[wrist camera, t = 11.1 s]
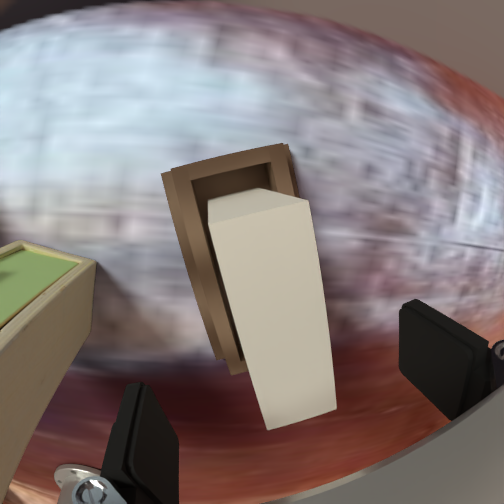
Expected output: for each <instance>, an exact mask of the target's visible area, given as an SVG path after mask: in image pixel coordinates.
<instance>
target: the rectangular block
mask: <svg viewBox="0 0 504 504" xmlns="http://www.w3.org/2000/svg"><path fill="white" fill-rule="evenodd" d="M208 225H209V229H210V233H211V237H212V241H213V245H214V249H215V252H216V256H217V260H218V264H219V267H220V271H221V275H222V279H223V282H224V286H225V290H226V293H227V297H228V300H229V304H230V308H231V311H232V315H233V318H234V322H235V325H236V329H237V332H238V336H239V339H240V343H241V346H242V349H243V353H244V356H245V360H246V363H247V366H248V370H249V373H250V376H251V379H252V383H253V386H254V389H255V393H256V396H257V399H258V402H259V405H260V409H261V412H262V415H263V418H264V421H265V424H266V427H267V430H271V429H274V428H278V427H282V426H285V425H289V424H292V423H296V422H299V421H302V420H305V419H308V418H312V417H315V416H318V415H321V414H324V413H327V412H329V411H332V410H335V409H337V406H336V394H335V383H334V373H333V363H332V354H331V345H330V336H329V328H328V320H327V313H326V305H325V298H324V291H323V284H322V277H321V271H320V264H319V258H318V252H317V246H316V240H315V234H314V229H313V223H312V218H311V212H310V207H309V201H308V200H304V199H301V198H297V197H293V196H289V195H285V194H281V193H277V192H273V191H269V190H265V189H261V188H253V189H249V190H245V191H241V192H236V193H232V194H228V195H224V196H220V197H216V198H212V199H208Z"/></svg>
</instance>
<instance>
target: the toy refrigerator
mask: <svg viewBox="0 0 504 504" xmlns="http://www.w3.org/2000/svg"><path fill="white" fill-rule="evenodd" d="M96 264H97V263H96V261H94V260H91V259H88V258H84V257H80V256H76V255H73V254H69V253H65V252H62V251H58V250H55V249H51V248H47V247H44V246H40V245H37V244H33V243H30V242H27V241H23V240H18V241H15V242H13V243H10V244H8V245H6V246H4V247H1V248H0V504H2V503H3V501H4V498H5V496H6V493H7V490H8V488H9V485H10V483H11V481H12V478H13V476H14V474H15V471H16V469H17V467H18V464H19V462H20V460H21V458H22V455H23V453H24V451H25V449H26V447H27V445H28V443H29V441H30V439H31V436H32V434H33V432H34V430H35V428H36V426H37V424H38V422H39V421H40V419H41V417H42V415H43V413H44V411H45V409H46V407H47V405H48V404H49V402H50V400H51V398H52V397H53V395H54V393H55V391H56V389H57V387H58V386H59V384H60V382H61V381H62V379H63V377H64V375H65V374H66V372H67V370H68V368H69V367H70V365H71V363H72V362H73V360H74V358H75V357H76V355H77V353H78V352H79V350H80V348H81V347H82V345H83V344H84V342H85V340H86V339H87V337H88V335H89V334H90V331H91V319H92V305H93V293H94V282H95V273H96Z"/></svg>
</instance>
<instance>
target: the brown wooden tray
mask: <svg viewBox="0 0 504 504" xmlns="http://www.w3.org/2000/svg"><path fill="white" fill-rule="evenodd" d="M161 176H162V180H163V184H164V188H165V192H166V196H167V200H168V204H169V208H170V211H171V215H172V219H173V223H174V226H175V230H176V234H177V237H178V241H179V244H180V248H181V251H182V255H183V258H184V261H185V265H186V268H187V272H188V275H189V278H190V281H191V285H192V288H193V291H194V294H195V298H196V301H197V304H198V307H199V310H200V313H201V316H202V319H203V322H204V325H205V328H206V331H207V334H208V337H209V340H210V343H211V346H212V349H213V352H214V354H215V357H216V360H219V359H223V358H225V359H226V362H227V365H228V368H229V371H230V374H231V375H234V374H238V373H242V372H246V371H249V370H248V366H247V363H246V360H245V356H244V353H243V349H242V346H241V343H240V339H239V336H238V332H237V329H236V325H235V322H234V318H233V315H232V311H231V308H230V304H229V300H228V297H227V293H226V290H225V286H224V282H223V279H222V275H221V271H220V267H219V264H218V260H217V256H216V252H215V249H214V245H213V241H212V237H211V233H210V229H209V225H208V199H212V198H216V197H220V196H224V195H228V194H232V193H236V192H241V191H245V190H249V189H253V188H261V189H265V190H269V191H273V192H277V193H281V194H285V195H289V196H293V197H297V198H300V197H299V192H298V187H297V182H296V178H295V173H294V168H293V164H292V159H291V154H290V150H289V146H288V144H285V145H284V144H283V143H280V144H275V145H269V146H264V147H259V148H255V149H250V150H245V151H241V152H236V153H232V154H227V155H223V156H219V157H215V158H210V159H206V160H202V161H198V162H195V163H191V164H187V165H183V166H179V167H176V168H172V169H171V171H169V172H165V173H162V174H161Z"/></svg>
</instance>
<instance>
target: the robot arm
mask: <svg viewBox="0 0 504 504" xmlns="http://www.w3.org/2000/svg"><path fill="white" fill-rule="evenodd" d="M488 344H489V341H487V340H486V339H484V338H482V337H481V336H479V335H477V334H476V333H474V332H472V331H471V330H469V329H467V328H466V327H464V326H462V325H461V324H459V323H457V322H456V321H454V320H452V319H451V318H449V317H447V316H446V315H444V314H442V313H440V312H439V311H437V310H435V309H434V308H432V307H430V306H428V305H427V304H425V303H423V302H421V301H420V300H418V299H414V300H411V301H409V302H407V303H404V304H403V305H402V309H400V311H399V369H400V371H401V373H402V374H403V375H404V376H405V377H406V378H407V379H408V380H409V381H410V382H411V383H412V384H413V385H414V386H415V387H416V388H418V389H419V390H420V391H421V392H422V393H423V394H424V395H425V396H426V397H427V398H428V399H429V400H430V401H431V402H432V403H433V404H434V405H435V406H436V407H437V408H438V409H439V410H440V411H441V412H442V413H443V414H444V415H445V416H446V417H447V418H448V419H449V420H451V422H450V423H448V424H447V425H445V426H444V427H442V428H440V429H439V430H437V431H436V432H434V433H432V434H431V435H429V436H427V437H426V438H424V439H422V440H420V441H419V442H417V443H415V444H413V445H412V446H410V447H408V448H406V449H404V450H402V451H400V452H398V453H396V454H395V455H393V456H391V457H389V458H387V459H384V460H382V461H380V462H378V463H376V464H374V465H372V466H370V467H367V468H365V469H363V470H360V471H358V472H356V473H353V474H351V475H349V476H346V477H344V478H341V479H338V480H336V481H333V482H331V483H328V484H325V485H322V486H319V487H316V488H313V489H310V490H307V491H304V492H301V493H298V494H295V495H291V496H288V497H284V498H281V499H277V500H273V501H269V502H265V503H261V504H504V340H500V341H498V342H496V343H495V344H494V345H493V346H492V348H491V349H490V348H488ZM54 479H55V481H56V483H57V485H58V486H59V487H60V488H61V492H60V496H59V499H58V502H57V504H179V441H178V437H177V435H176V433H175V431H174V430H173V428H172V426H171V424H170V423H169V421H168V419H167V417H166V416H165V414H164V412H163V410H162V408H161V406H160V404H159V403H158V401H157V399H156V397H155V395H154V393H153V391H152V389H151V387H150V386H149V385H145V384H144V383H143V382H138V383H133V384H128V385H127V386H126V388H125V391H124V395H123V398H122V402H121V405H120V408H119V412H118V416H117V419H116V422H115V423H114V424H113V426H112V430H111V434H110V437H109V441H108V445H107V449H106V453H105V456H104V460H103V465H102V469H101V471H100V470H98V469H95V468H91V467H88V466H83V465H78V464H64V465H61V466H59V467H57V469H56V471H55V474H54Z"/></svg>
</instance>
